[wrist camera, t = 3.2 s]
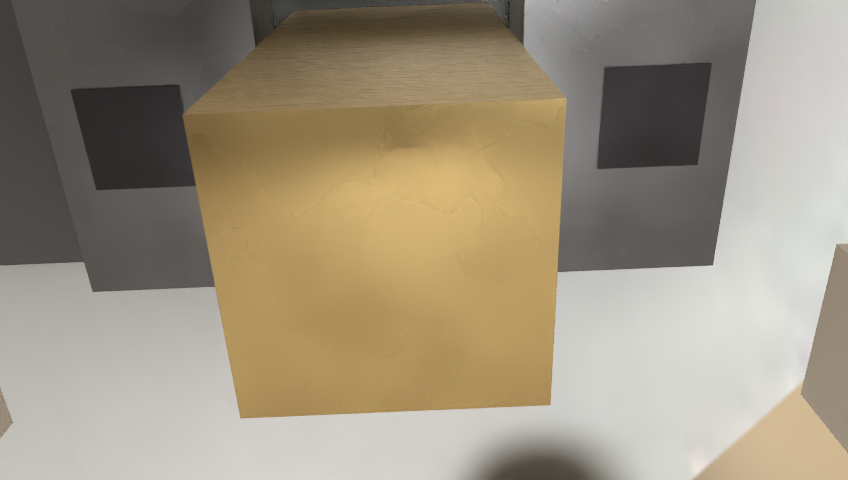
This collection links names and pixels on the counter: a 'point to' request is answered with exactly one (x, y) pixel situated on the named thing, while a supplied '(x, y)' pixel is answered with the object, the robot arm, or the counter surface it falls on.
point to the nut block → (383, 212)
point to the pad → (28, 165)
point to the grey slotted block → (529, 22)
